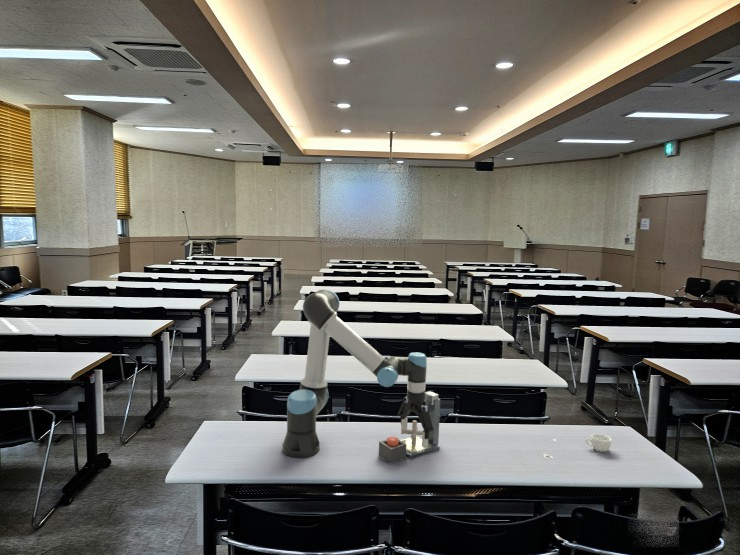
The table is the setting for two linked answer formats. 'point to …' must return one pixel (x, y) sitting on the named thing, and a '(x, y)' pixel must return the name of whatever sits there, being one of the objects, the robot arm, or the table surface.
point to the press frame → (432, 446)
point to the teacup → (600, 442)
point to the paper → (547, 454)
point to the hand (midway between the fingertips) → (414, 439)
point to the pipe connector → (413, 432)
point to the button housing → (392, 452)
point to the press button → (392, 441)
